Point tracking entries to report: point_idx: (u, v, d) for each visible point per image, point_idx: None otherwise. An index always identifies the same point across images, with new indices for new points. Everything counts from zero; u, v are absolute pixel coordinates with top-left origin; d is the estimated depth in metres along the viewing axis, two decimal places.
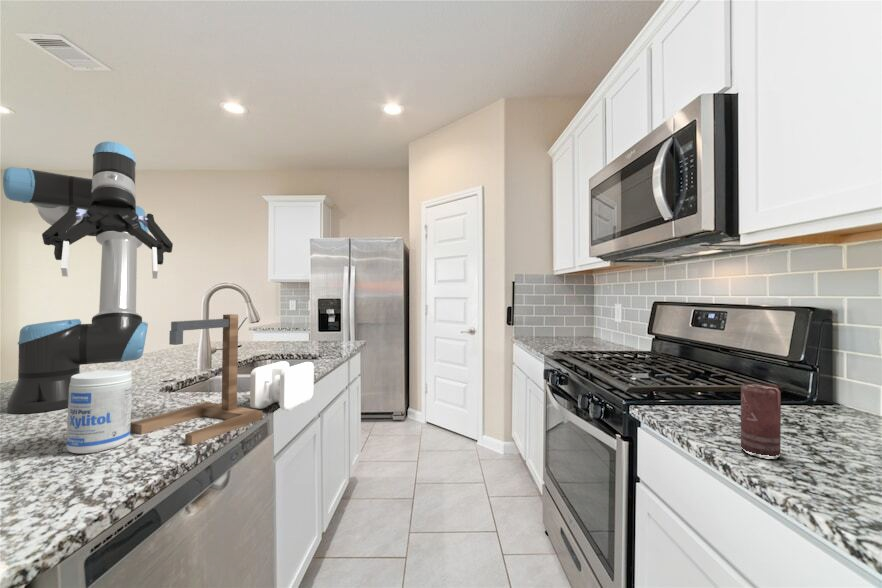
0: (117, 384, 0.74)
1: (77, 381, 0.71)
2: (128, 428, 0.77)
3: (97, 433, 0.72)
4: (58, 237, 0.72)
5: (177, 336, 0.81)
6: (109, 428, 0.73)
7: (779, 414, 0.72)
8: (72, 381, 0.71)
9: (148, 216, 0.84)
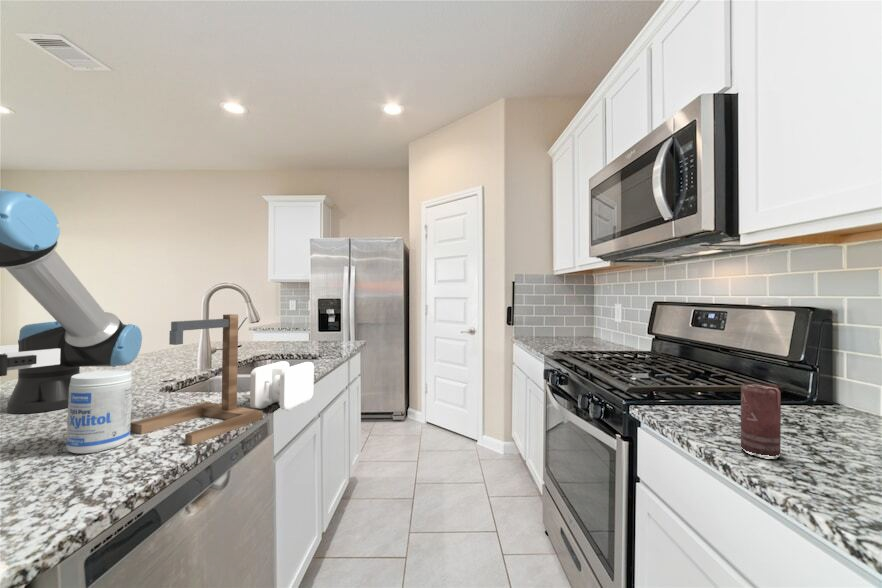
0: (117, 384, 0.74)
1: (77, 381, 0.71)
2: (128, 428, 0.77)
3: (97, 433, 0.72)
4: None
5: (177, 336, 0.81)
6: (109, 428, 0.73)
7: (779, 414, 0.72)
8: (72, 381, 0.71)
9: None
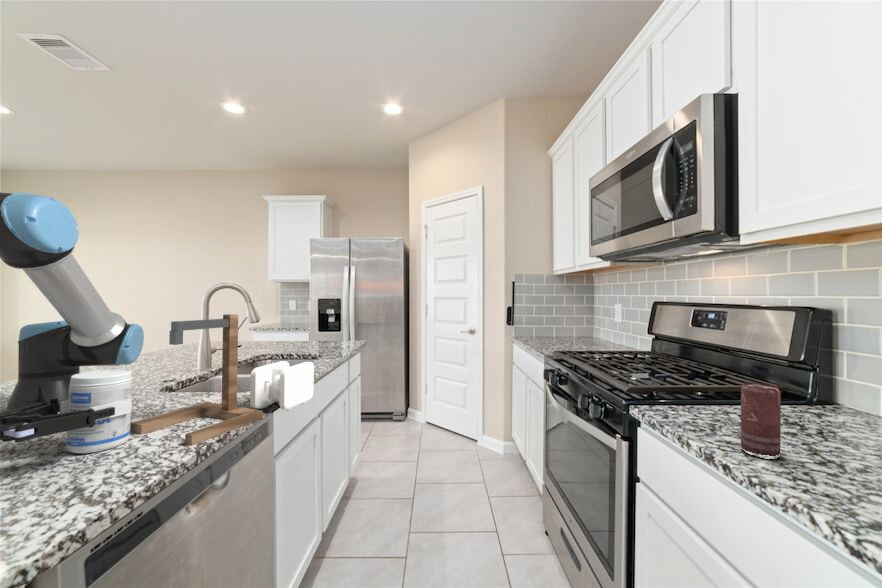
0: (117, 384, 0.74)
1: (77, 381, 0.71)
2: (128, 428, 0.77)
3: (97, 433, 0.72)
4: None
5: (177, 336, 0.81)
6: (109, 428, 0.73)
7: (779, 414, 0.72)
8: (72, 381, 0.71)
9: None
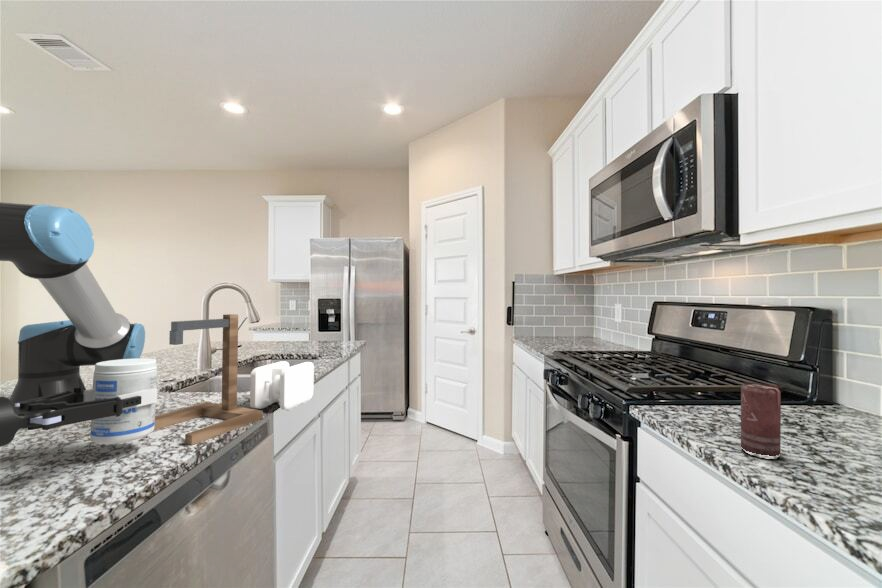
0: (142, 372, 0.71)
1: (102, 369, 0.68)
2: (153, 418, 0.74)
3: (122, 423, 0.69)
4: None
5: (177, 336, 0.81)
6: (135, 418, 0.70)
7: (779, 414, 0.72)
8: (97, 368, 0.69)
9: None
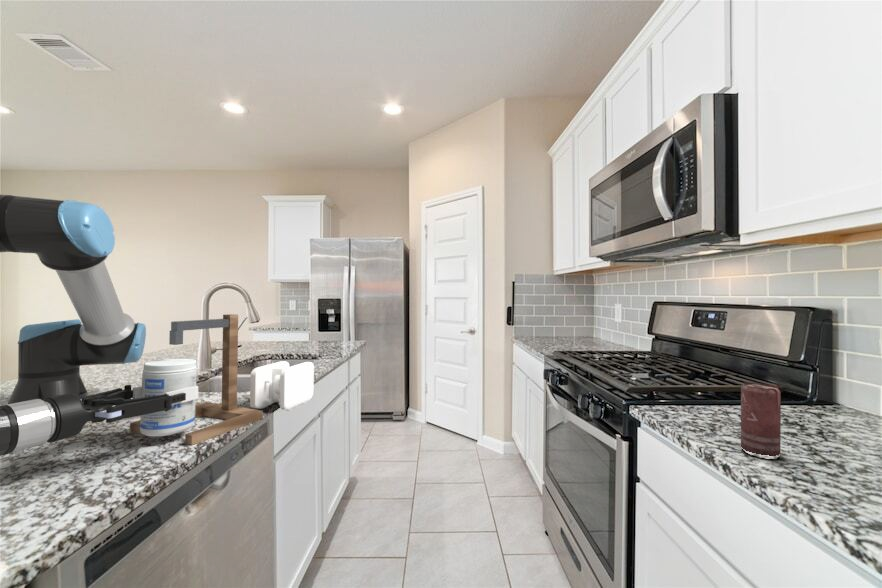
0: (186, 372, 0.78)
1: (151, 368, 0.75)
2: (194, 413, 0.82)
3: (169, 417, 0.76)
4: None
5: (177, 336, 0.81)
6: (179, 413, 0.77)
7: (779, 414, 0.72)
8: (146, 368, 0.76)
9: None
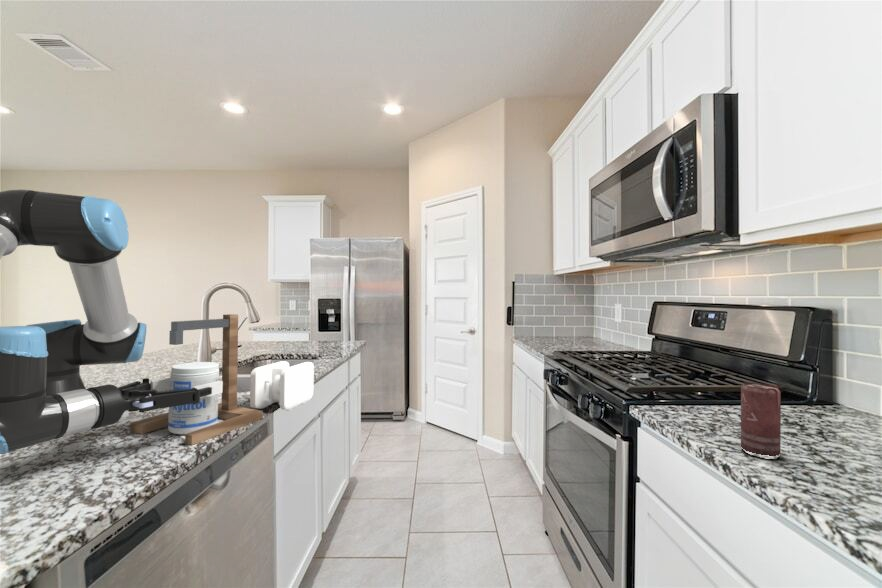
0: (210, 374, 0.84)
1: (179, 371, 0.81)
2: (217, 413, 0.87)
3: (195, 417, 0.82)
4: None
5: (177, 336, 0.81)
6: (205, 413, 0.83)
7: (779, 414, 0.72)
8: (174, 371, 0.82)
9: None
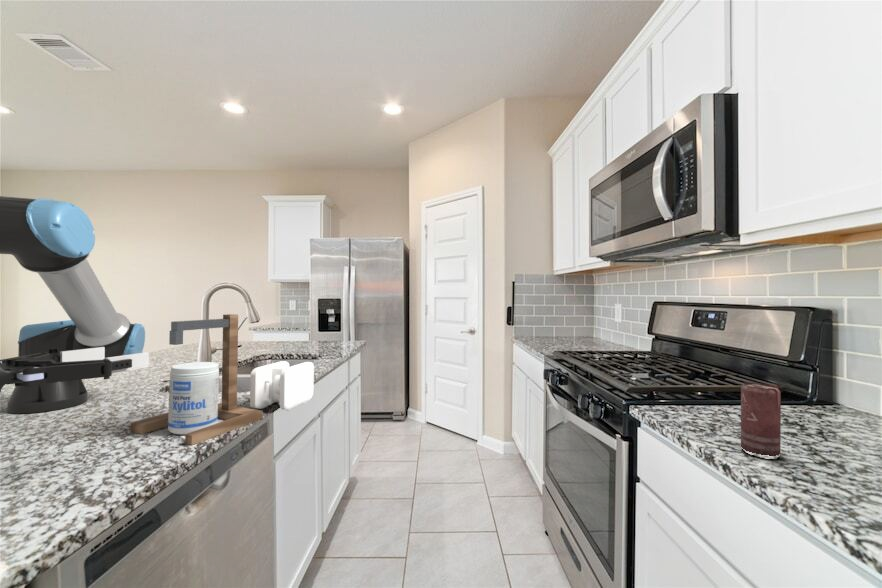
0: (210, 374, 0.84)
1: (178, 371, 0.81)
2: (217, 413, 0.87)
3: (195, 417, 0.82)
4: None
5: (177, 336, 0.81)
6: (204, 413, 0.83)
7: (779, 414, 0.72)
8: (174, 371, 0.82)
9: None
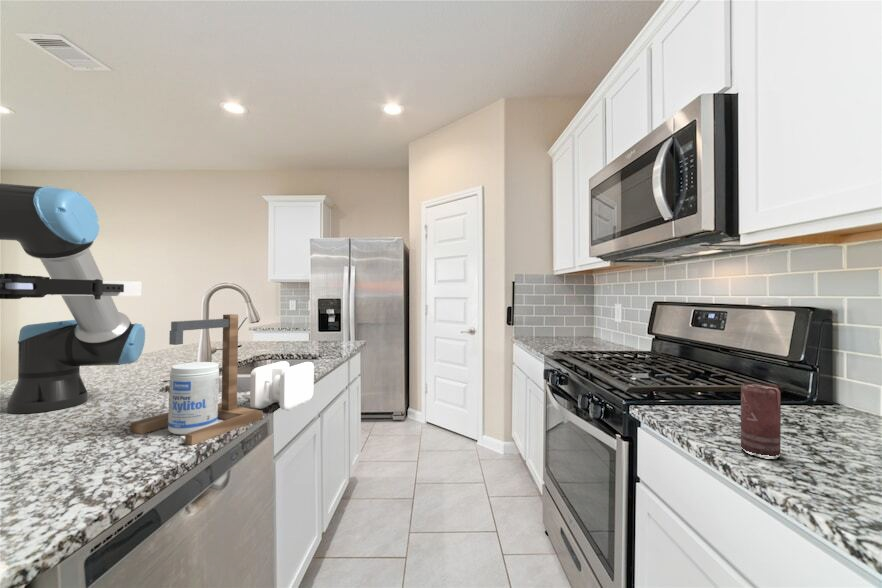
0: (210, 374, 0.84)
1: (178, 371, 0.81)
2: (217, 413, 0.87)
3: (195, 417, 0.82)
4: None
5: (177, 336, 0.81)
6: (204, 413, 0.83)
7: (779, 414, 0.72)
8: (174, 371, 0.82)
9: None
